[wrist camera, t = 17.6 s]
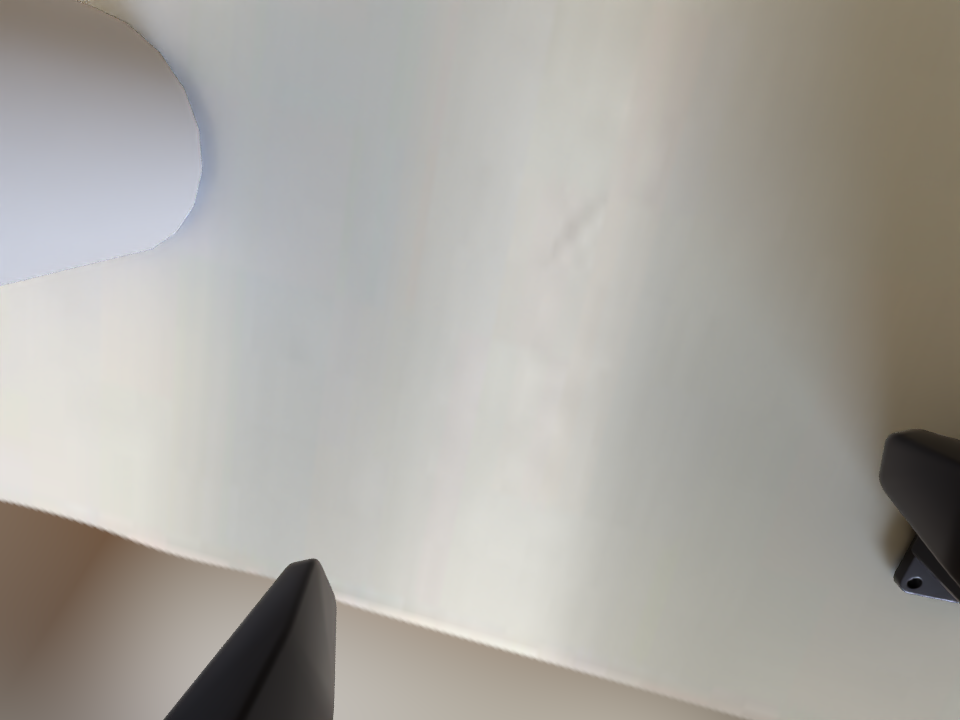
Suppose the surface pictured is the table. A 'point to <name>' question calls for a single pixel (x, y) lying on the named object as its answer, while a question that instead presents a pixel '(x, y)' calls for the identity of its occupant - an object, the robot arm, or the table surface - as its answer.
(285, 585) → the robot arm
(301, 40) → the table surface
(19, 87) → the can
